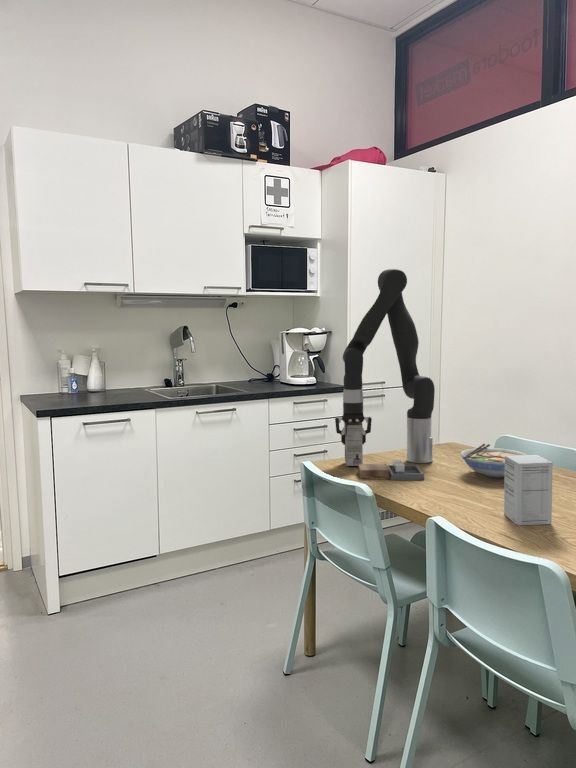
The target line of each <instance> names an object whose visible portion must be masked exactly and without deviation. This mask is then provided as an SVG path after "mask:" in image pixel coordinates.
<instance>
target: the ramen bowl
mask: <svg viewBox="0 0 576 768" xmlns="http://www.w3.org/2000/svg"><path fill="white" fill-rule="evenodd" d="M490 446H491V445H490V443H488V444H486V443H482V444H481V445H479V446H478V447H475V448H468V449H465V450H462V451H461V452H460V456H461V458H462V460H463V461H464V462H465V464H466V465H467V466H468V467H469V468H470V469H471V470H473V471H474V472H476V473H479V474H482V475H483V476H484V475H485V476H484V477H487V478H493V477H494V479H498V478H499V479H500V477H501V478H504V477H505V456H519V455H528V454H527V453H525V452H523V451H522V452H521V451H518V450H514V449H507V448H496V447H495V448H494V447H490Z"/></svg>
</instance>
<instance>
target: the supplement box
mask: <svg viewBox="0 0 576 768" xmlns="http://www.w3.org/2000/svg"><path fill="white" fill-rule="evenodd" d="M553 464H554V463H553V462H552V461H550V460H548V459H546V458H545V457H542V456H540V455H538V454H527V455H519V456H505V477H503V478H504V479H503V480H504V483H503V484H504V486H503V487H504V491H503V492H504V493H503V494H504V495H503V500H504V501H503V503H504V504H503V513H504V514H503V515H504V516H505V517H507V519H508V520H510V521H511V522H512V523H514V524H515V525H516V524H517V525H516V526H537V525H539V526H540V525H541V526H542V525H552V517H553V515H552V512H553V509H552V507H553Z"/></svg>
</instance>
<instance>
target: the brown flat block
mask: <svg viewBox="0 0 576 768" xmlns="http://www.w3.org/2000/svg"><path fill="white" fill-rule="evenodd" d="M387 465H388V464H387V463H363V464H358V467H357V468H358V475H359V477H360V479H361V478H390V470H389V468H388V466H387Z"/></svg>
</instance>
